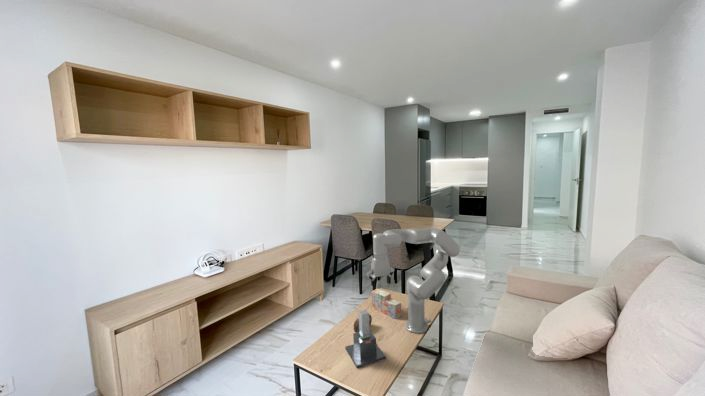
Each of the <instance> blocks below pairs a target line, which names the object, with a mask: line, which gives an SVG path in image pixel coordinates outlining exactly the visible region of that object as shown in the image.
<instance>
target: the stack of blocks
mask: <svg viewBox="0 0 705 396" xmlns="http://www.w3.org/2000/svg"><path fill="white" fill-rule="evenodd" d="M371 308H372V309H374V310H377V311H378V312H379V313H382V314H384V315H387V316H388V317H389V318H392V319H395V320H396V319H398V318H400V317H401V316H402V302H401V301H398V299H397V300H396V299H395V298H392V295H391V293H390V292H388V291H385V290H383V289H380V288H376V289H375V288H374V289H373V290H372V291H371Z"/></svg>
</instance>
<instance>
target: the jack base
mask: <svg viewBox="0 0 705 396" xmlns="http://www.w3.org/2000/svg"><path fill="white" fill-rule="evenodd" d="M369 332H370V338H367V339H363V340H362V339H361V338H360V335H359V332H357V333H356V332H354V333H352V334H353V336H352V337H353V343H352V344H349V345H347V346H345V350H346V352H347V354H348V355H349V357H350V359H351V360H352V362H353V363H354V366H355V368H356V369H359V368H363V367H365V366H368V365H371V364H374V363H377V362H381V361H384V360H387V356H386V354H385V353H384V351H382V350H381V348H380V347H379V345H378V344H377V337H376V336H375V335H374V334H373V333H372V331H371V330H370V329H369Z"/></svg>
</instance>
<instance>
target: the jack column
mask: <svg viewBox="0 0 705 396" xmlns="http://www.w3.org/2000/svg"><path fill="white" fill-rule="evenodd" d="M369 314H370V312H368V311H367V309H363V310H359V311H358V318H359V335H360V338H361V339H362V340H363V339H367V338H370V332H371V331H370V332H369V330H370V327H369Z"/></svg>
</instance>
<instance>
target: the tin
mask: <svg viewBox="0 0 705 396" xmlns="http://www.w3.org/2000/svg"><path fill="white" fill-rule="evenodd" d="M372 319H373V317H372V315H371V314H370V313H369V328H370V327H371V324H372ZM353 332H354V333H357V332H359V317H358V318H356V319H355V321H354V323H353Z"/></svg>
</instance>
